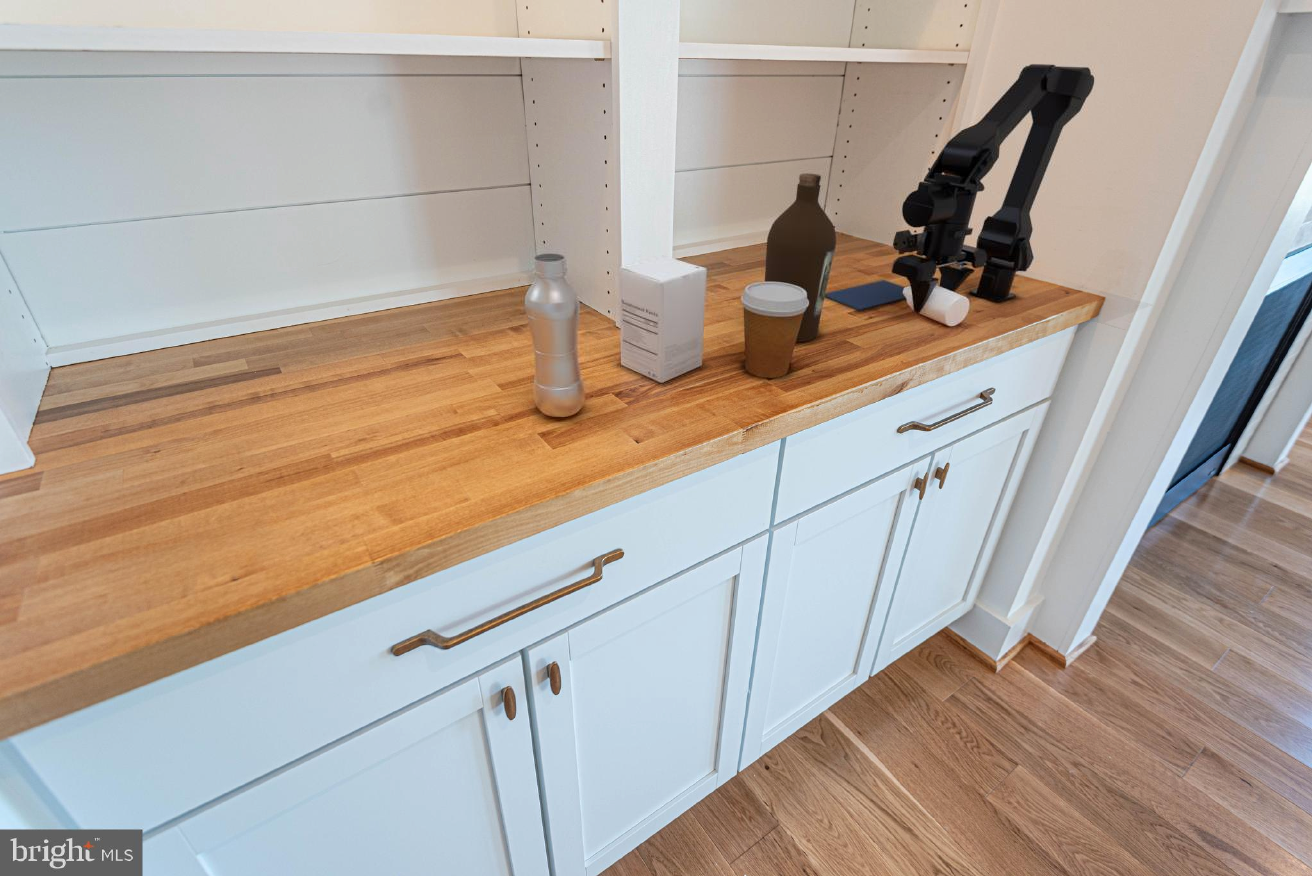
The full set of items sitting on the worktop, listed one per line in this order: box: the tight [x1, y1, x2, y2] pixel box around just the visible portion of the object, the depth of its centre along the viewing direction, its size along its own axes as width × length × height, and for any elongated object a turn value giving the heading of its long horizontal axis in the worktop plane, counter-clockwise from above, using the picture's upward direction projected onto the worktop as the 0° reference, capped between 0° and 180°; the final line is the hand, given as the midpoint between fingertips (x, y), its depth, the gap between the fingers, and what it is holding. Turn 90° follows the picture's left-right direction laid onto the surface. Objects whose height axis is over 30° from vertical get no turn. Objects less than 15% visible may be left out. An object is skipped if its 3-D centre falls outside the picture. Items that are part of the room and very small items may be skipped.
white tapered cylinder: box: [903, 284, 970, 327], centre depth 115 cm, size 6×12×6 cm, turn 27°
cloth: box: [824, 280, 907, 311], centre depth 125 cm, size 18×10×1 cm, turn 123°
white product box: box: [618, 255, 708, 384], centre depth 91 cm, size 9×9×15 cm
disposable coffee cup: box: [740, 281, 809, 379], centre depth 92 cm, size 10×10×12 cm
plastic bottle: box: [524, 252, 586, 418], centre depth 78 cm, size 6×7×20 cm
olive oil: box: [764, 173, 837, 344], centre depth 101 cm, size 11×11×25 cm
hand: (928, 308), depth 115 cm, fingers closed on white tapered cylinder, 6 cm apart
